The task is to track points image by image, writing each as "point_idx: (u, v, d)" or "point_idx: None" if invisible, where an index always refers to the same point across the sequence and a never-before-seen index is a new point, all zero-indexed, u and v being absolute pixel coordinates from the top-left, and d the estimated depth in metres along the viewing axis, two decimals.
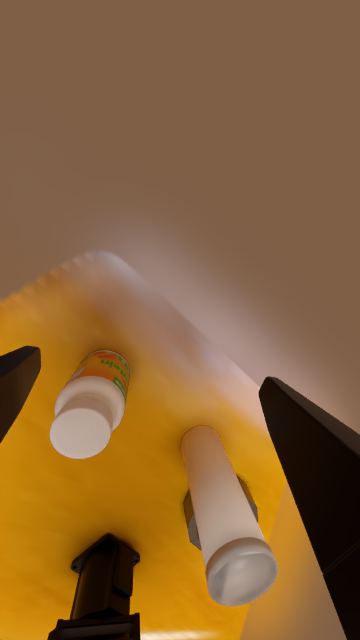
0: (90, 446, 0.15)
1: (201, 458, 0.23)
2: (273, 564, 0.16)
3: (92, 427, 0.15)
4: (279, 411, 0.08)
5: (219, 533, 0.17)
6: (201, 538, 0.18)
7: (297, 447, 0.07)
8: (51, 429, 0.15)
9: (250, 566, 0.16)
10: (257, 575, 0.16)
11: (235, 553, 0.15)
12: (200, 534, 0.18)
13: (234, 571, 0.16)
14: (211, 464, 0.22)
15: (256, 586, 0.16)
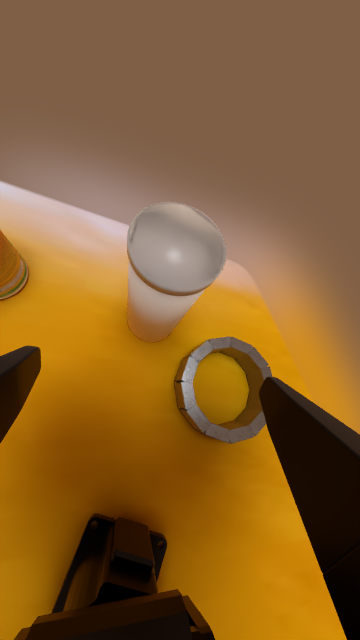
0: None
1: None
2: (204, 218, 0.12)
3: None
4: (279, 411, 0.08)
5: None
6: (131, 277, 0.13)
7: (297, 447, 0.07)
8: None
9: (175, 224, 0.12)
10: (194, 236, 0.12)
11: (143, 211, 0.12)
12: (130, 280, 0.13)
13: (157, 233, 0.11)
14: None
15: (205, 252, 0.12)
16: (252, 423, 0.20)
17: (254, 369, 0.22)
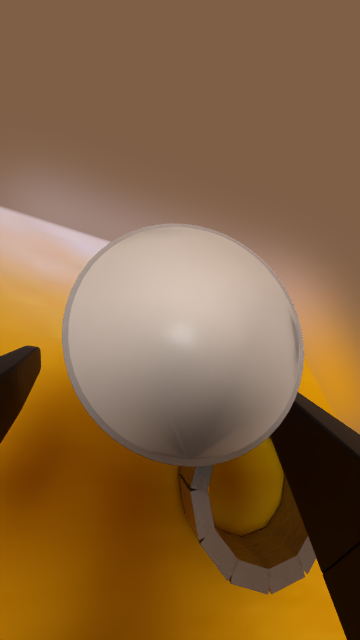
0: None
1: None
2: (249, 258, 0.06)
3: None
4: None
5: None
6: None
7: (297, 447, 0.07)
8: None
9: (186, 275, 0.05)
10: (231, 302, 0.05)
11: (111, 248, 0.05)
12: None
13: (144, 303, 0.05)
14: None
15: (258, 343, 0.05)
16: (301, 551, 0.13)
17: None
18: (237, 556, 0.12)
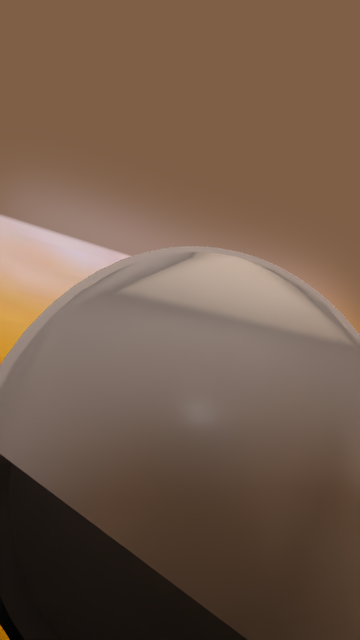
0: None
1: None
2: (312, 304, 0.03)
3: None
4: None
5: None
6: None
7: None
8: None
9: (212, 343, 0.03)
10: (292, 390, 0.03)
11: (76, 295, 0.03)
12: None
13: (135, 409, 0.02)
14: None
15: (345, 470, 0.03)
16: None
17: None
18: None
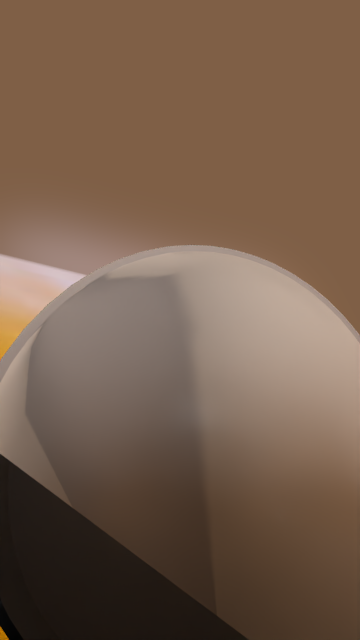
0: None
1: None
2: (311, 302, 0.03)
3: None
4: None
5: None
6: None
7: None
8: None
9: (211, 342, 0.03)
10: (290, 389, 0.03)
11: (74, 293, 0.03)
12: None
13: (133, 408, 0.02)
14: None
15: (344, 469, 0.03)
16: None
17: None
18: None
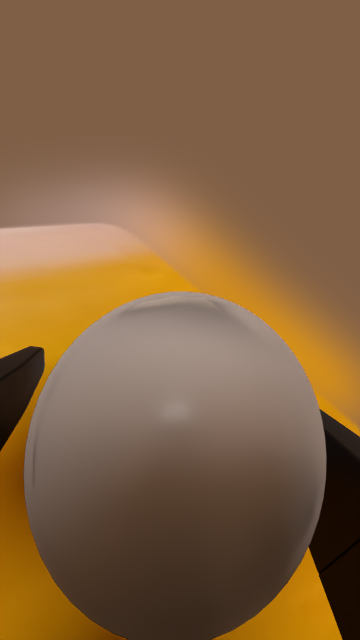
0: None
1: None
2: (259, 331, 0.05)
3: None
4: None
5: None
6: None
7: None
8: None
9: (184, 362, 0.04)
10: (239, 393, 0.04)
11: (92, 330, 0.04)
12: None
13: (131, 406, 0.04)
14: None
15: (272, 447, 0.04)
16: None
17: None
18: None
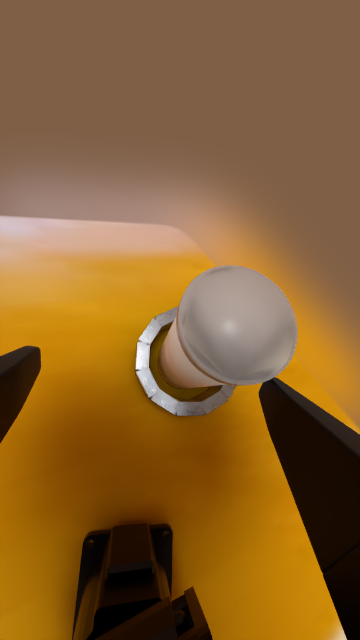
0: None
1: None
2: (273, 288, 0.10)
3: None
4: (279, 411, 0.08)
5: None
6: (173, 343, 0.11)
7: (297, 447, 0.07)
8: None
9: (237, 294, 0.10)
10: (259, 311, 0.10)
11: (201, 276, 0.10)
12: (173, 345, 0.11)
13: (215, 305, 0.09)
14: None
15: (271, 334, 0.09)
16: (223, 387, 0.19)
17: None
18: (180, 401, 0.18)
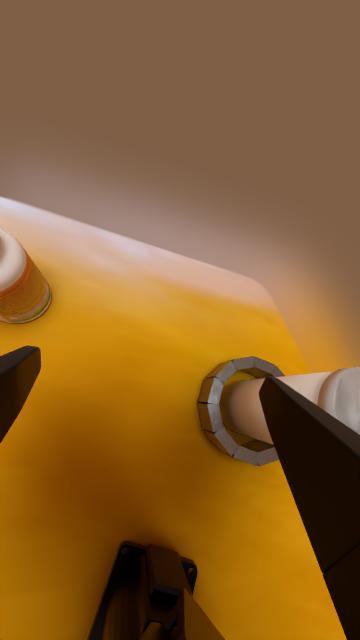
0: None
1: (253, 381, 0.19)
2: None
3: None
4: (279, 411, 0.08)
5: (314, 380, 0.13)
6: None
7: (297, 447, 0.07)
8: None
9: None
10: None
11: (347, 371, 0.12)
12: None
13: (357, 402, 0.11)
14: None
15: None
16: None
17: None
18: (237, 445, 0.19)
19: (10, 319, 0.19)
